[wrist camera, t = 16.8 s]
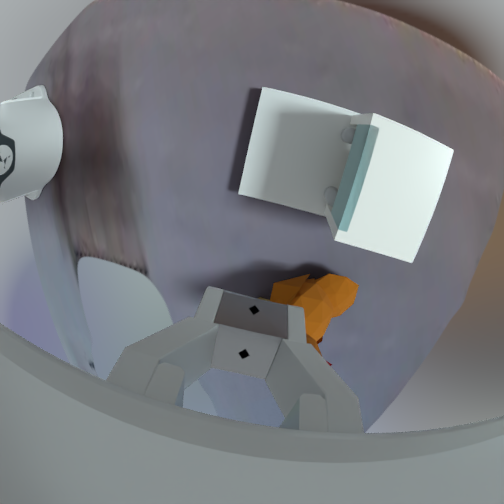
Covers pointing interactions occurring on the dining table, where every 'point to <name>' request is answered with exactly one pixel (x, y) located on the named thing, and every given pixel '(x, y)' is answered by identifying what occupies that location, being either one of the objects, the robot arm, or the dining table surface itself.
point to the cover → (388, 187)
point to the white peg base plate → (297, 151)
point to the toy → (316, 301)
